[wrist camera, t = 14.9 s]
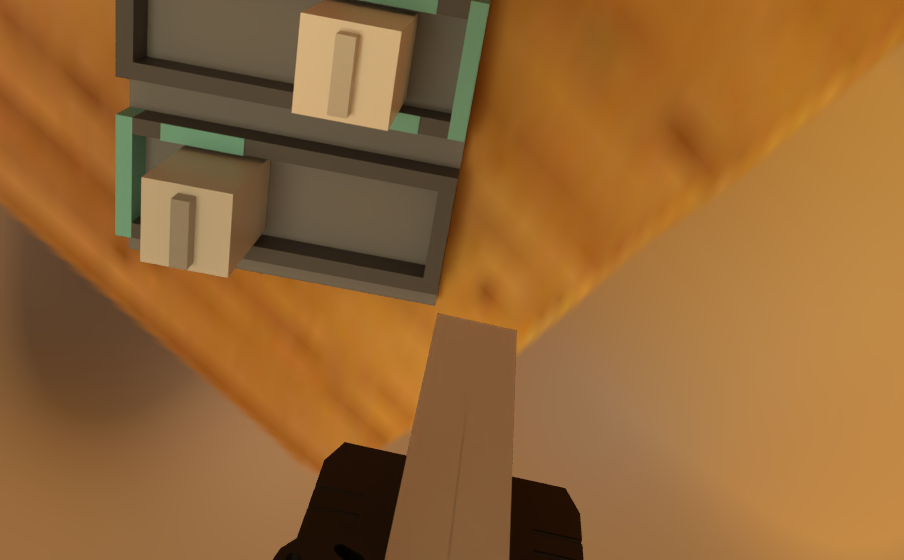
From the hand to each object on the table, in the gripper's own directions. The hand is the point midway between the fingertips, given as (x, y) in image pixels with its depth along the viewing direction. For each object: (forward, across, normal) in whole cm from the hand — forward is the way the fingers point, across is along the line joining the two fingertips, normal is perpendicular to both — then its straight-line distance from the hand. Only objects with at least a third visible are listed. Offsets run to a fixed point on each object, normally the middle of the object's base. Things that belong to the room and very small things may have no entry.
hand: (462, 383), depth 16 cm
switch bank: (+27, -9, -4) cm, 29 cm away
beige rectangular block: (+26, -6, 0) cm, 27 cm away
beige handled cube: (+26, -12, -8) cm, 30 cm away
